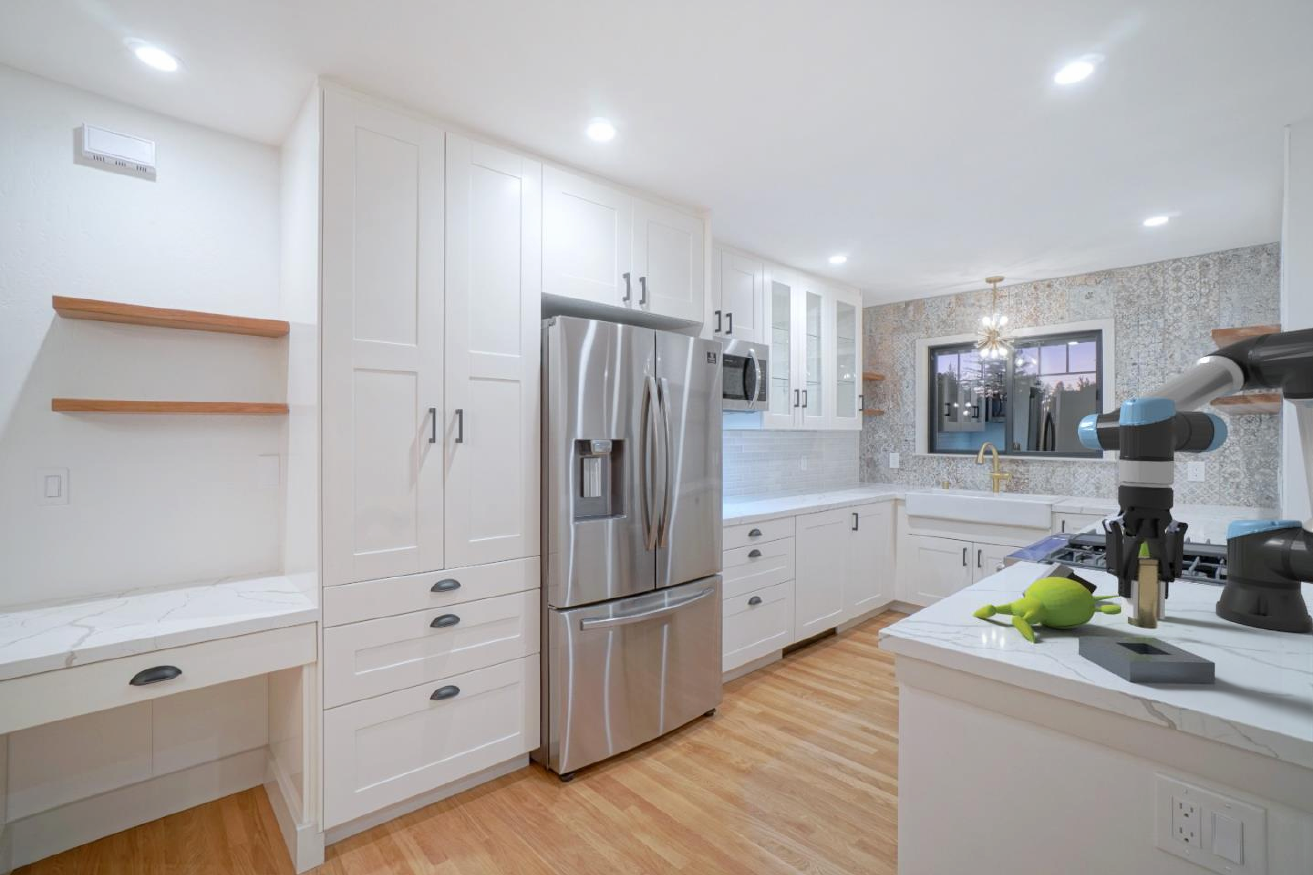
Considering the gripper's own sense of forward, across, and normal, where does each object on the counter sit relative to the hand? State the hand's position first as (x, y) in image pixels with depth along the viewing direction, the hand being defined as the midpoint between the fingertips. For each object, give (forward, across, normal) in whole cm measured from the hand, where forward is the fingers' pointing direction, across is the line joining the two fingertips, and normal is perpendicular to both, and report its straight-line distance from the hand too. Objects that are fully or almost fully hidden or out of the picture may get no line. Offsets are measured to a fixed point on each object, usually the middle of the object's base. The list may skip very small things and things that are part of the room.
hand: (1142, 616), depth 102 cm
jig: (+9, 0, 0) cm, 9 cm away
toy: (+10, -1, -23) cm, 25 cm away
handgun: (+9, -14, -43) cm, 46 cm away
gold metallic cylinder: (+2, 0, 0) cm, 2 cm away
